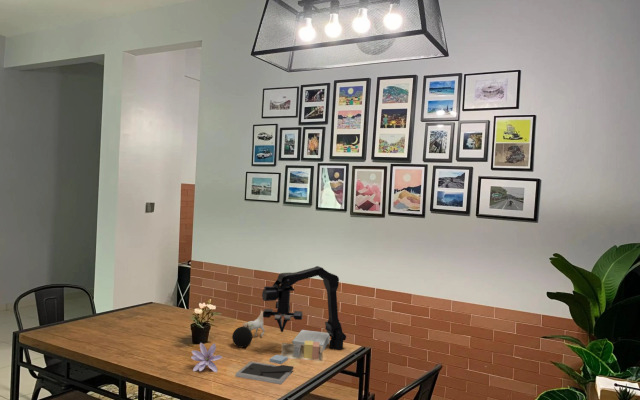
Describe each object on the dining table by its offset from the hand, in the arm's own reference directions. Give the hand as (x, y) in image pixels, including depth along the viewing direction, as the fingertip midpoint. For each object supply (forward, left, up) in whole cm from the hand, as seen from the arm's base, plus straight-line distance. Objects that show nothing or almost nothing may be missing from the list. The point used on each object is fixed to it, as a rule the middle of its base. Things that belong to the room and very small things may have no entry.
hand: (281, 332), depth 234 cm
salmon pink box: (-17, 0, -11) cm, 20 cm away
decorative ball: (+21, -11, -12) cm, 27 cm away
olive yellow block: (-13, 0, -11) cm, 17 cm away
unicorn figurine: (+19, -28, -12) cm, 36 cm away
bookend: (-8, 0, -11) cm, 13 cm away
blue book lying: (0, +9, -12) cm, 15 cm away
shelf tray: (-10, 0, -12) cm, 16 cm away
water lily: (+31, +22, -12) cm, 40 cm away
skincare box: (-6, -20, -10) cm, 23 cm away
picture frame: (+4, +23, -13) cm, 26 cm away
